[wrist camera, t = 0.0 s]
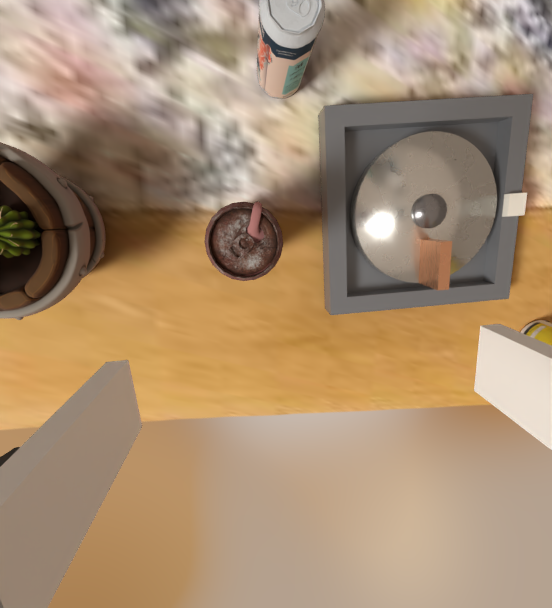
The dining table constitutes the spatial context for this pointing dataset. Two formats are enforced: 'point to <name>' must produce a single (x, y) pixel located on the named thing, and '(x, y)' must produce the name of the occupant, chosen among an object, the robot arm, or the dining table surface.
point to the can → (243, 241)
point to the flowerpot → (43, 235)
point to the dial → (424, 208)
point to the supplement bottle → (539, 331)
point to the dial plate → (380, 135)
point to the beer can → (286, 43)
